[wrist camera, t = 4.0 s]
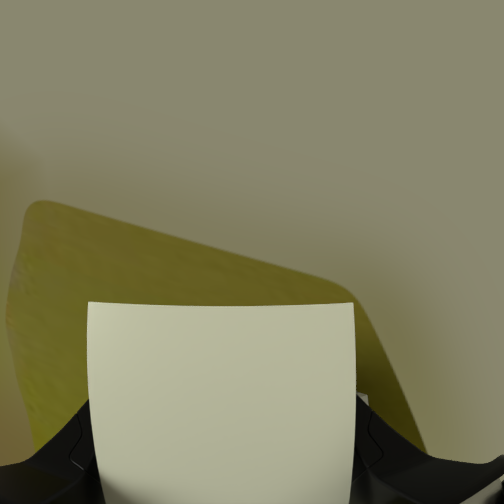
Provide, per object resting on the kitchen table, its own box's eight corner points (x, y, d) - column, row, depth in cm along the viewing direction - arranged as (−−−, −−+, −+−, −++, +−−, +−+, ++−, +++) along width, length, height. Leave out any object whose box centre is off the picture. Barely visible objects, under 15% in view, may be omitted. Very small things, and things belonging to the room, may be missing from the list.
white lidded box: (271, 414, 17) (346, 521, 5) (179, 414, 16) (111, 523, 4) (269, 326, 18) (352, 302, 6) (177, 326, 18) (88, 301, 6)
